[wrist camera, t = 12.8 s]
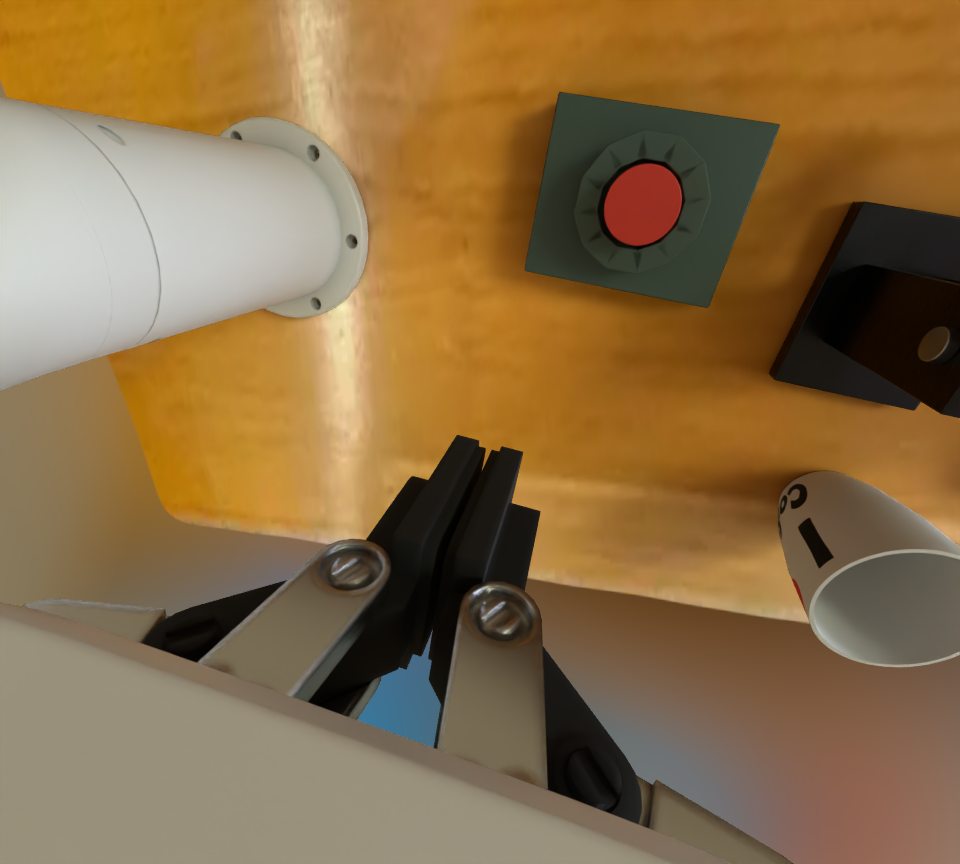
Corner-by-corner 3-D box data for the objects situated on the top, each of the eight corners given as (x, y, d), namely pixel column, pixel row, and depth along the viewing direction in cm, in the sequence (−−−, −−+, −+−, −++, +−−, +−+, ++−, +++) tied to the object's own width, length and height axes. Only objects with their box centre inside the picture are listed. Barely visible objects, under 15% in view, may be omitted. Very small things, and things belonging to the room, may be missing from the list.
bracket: (852, 201, 24) (1034, 198, 14) (1019, 229, 23) (1347, 247, 13) (767, 373, 29) (857, 465, 19) (903, 403, 28) (1077, 517, 18)
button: (595, 236, 25) (595, 238, 23) (615, 160, 23) (616, 157, 22) (662, 249, 24) (666, 252, 23) (687, 172, 23) (693, 170, 21)
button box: (528, 266, 30) (519, 274, 26) (562, 100, 25) (555, 83, 22) (701, 301, 28) (715, 315, 25) (767, 130, 24) (794, 117, 20)
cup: (763, 450, 31) (825, 544, 23) (905, 451, 29) (1034, 555, 21) (748, 544, 35) (797, 657, 26) (874, 551, 33) (973, 676, 24)
